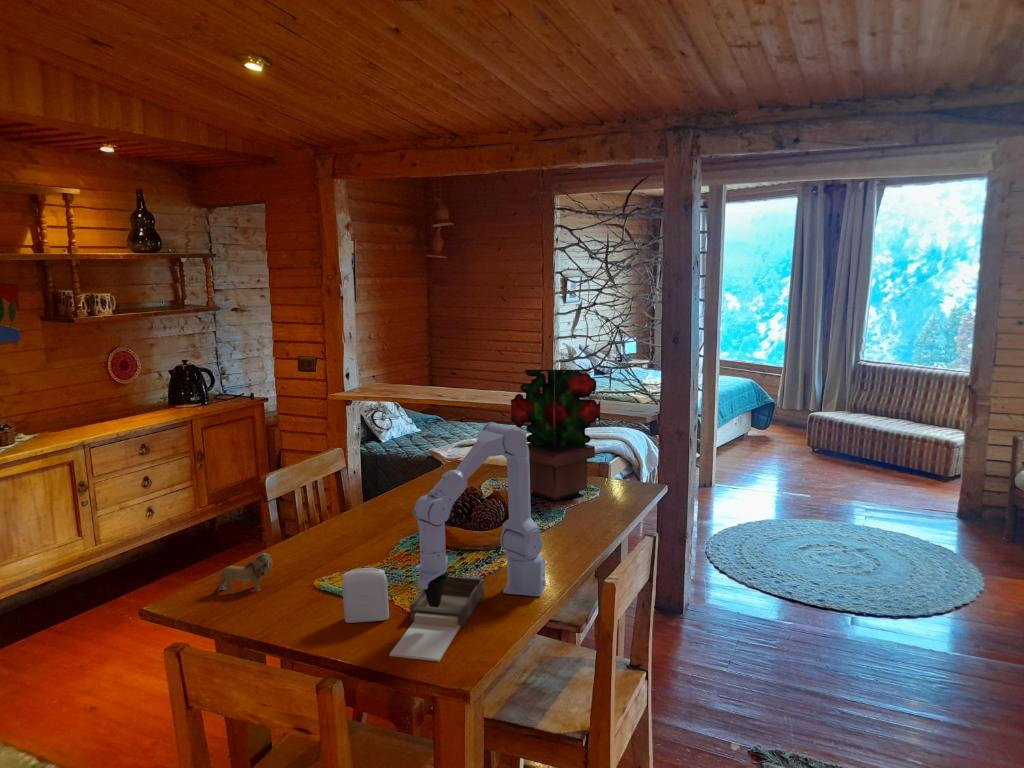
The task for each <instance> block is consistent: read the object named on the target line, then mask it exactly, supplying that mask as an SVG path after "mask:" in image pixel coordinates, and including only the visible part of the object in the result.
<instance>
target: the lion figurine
mask: <svg viewBox="0 0 1024 768" xmlns="http://www.w3.org/2000/svg"><path fill="white" fill-rule="evenodd" d="M272 568H273V559H272V554H269V553H266V552H262V553H261V554H259V555H258V556H257V557H256V558H255V559H254V560H252V561H250V562H249V563H248V564H247V565H244V566H236V565H229V566H226V567H224V568H223V569H222V570H221V572H220V575H219V579H218V584H217V586H216V588H215V589H214V590H213V592H212V593H217V592H218V591H219V589H221V590H222V591H226V590H227V591H228V593H229V594H230V595H235V594H236V591H235V590H233V589H232V584H233V581H234V579H236V580H237V581H241V582H244V581H252V586H253V589H254V591H255V592H256V593H258V592H261V588H260V584H259V580H260V579H263V578H265V577H266V576H267V574H268V573H269V572H270V571H271V570H272ZM223 577H224V578H223ZM225 585H226V586H225Z"/></svg>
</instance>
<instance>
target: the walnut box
mask: <svg viewBox="0 0 1024 768" xmlns="http://www.w3.org/2000/svg"><path fill="white" fill-rule="evenodd" d="M484 595H485V579H484V578H477V577H465V576H455V575H454V576H453V575H448V577H447V579H446V581H445V584H444V587H443V591H442V597H441V602H440V605H439V606H438V607H430V606H429V603H428V600H427V597H426V594H425V591H424V589H421V591H420V592H419V593H418V595H416V597H415V599H413V601H412V602H411V603H410V604H409V611H410V612H409V613H410V616H409V617H410V622H412V623H413V622H414V615H415V614H416V612H417V613H427V614H438V615H448V616H458V625H460V628H461V627H462V628H465V627H466V625H467V623H468V622H469V620H470V618H471V616H472V615H473V614H474V612H475V611H476V608H477V607H478V605H479V603H481V601H482V599H483V598H484Z"/></svg>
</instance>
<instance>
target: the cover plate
mask: <svg viewBox="0 0 1024 768" xmlns="http://www.w3.org/2000/svg"><path fill="white" fill-rule="evenodd" d="M460 628H461V627H460V625H458V616H448V615H438V614H427V613H417V612H416V614H415V615H414V622H413V621H412V623H411V625H410V626H409V627H408V629H407V630H406V631H405V633H404V634H403V635H402V637H401V638H400V639H399V641H398V642H397V644H396V645H394V647H393V649H392V650H391V651H390V653H389V657H395V658H403V659H404V658H406V659H416V660H423V661H432V662H440V661H441V659H442V657H444V655H445V653H446V652H447V650H448V648H449V646H450V645H451V643H452V641H454V638H455V636H456V635H457V633H458V632H459V630H460Z"/></svg>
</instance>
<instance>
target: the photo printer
mask: <svg viewBox="0 0 1024 768" xmlns="http://www.w3.org/2000/svg"><path fill="white" fill-rule="evenodd" d="M341 582H342V586H341V587H342V598H343V599H342V600H343V612H344V621H345V623H347V624H348V623H349V624H350V623H351V624H352V623H353V624H354V623H366V622H367V623H368V622H380V621H386V620H388V619H389V617H390V610H389V609H390V608H389V606H390V605H389V594H388V593H389V592H388V591H389V590H388V577H387V575H386V572H385V570H384V569H381V568H374V567H362V568H361V567H360V568H355V569H351V570H349V571H346V572H344V573H343V577H342V581H341Z"/></svg>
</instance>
